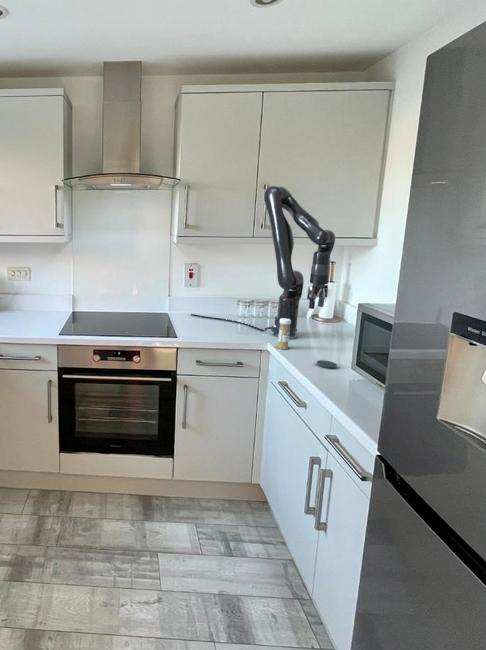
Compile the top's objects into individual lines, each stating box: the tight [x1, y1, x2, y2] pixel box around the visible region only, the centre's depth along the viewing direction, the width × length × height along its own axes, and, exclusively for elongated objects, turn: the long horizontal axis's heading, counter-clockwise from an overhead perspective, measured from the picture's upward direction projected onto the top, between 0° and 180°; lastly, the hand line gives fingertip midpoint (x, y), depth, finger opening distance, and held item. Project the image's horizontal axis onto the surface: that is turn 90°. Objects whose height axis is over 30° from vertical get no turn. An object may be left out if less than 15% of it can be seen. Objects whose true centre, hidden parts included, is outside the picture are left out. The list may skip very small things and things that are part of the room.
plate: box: [316, 359, 338, 369], centre depth 166 cm, size 7×7×1 cm
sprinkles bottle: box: [277, 318, 291, 350], centre depth 188 cm, size 5×5×14 cm
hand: (316, 307), depth 196 cm, fingers open, 8 cm apart
